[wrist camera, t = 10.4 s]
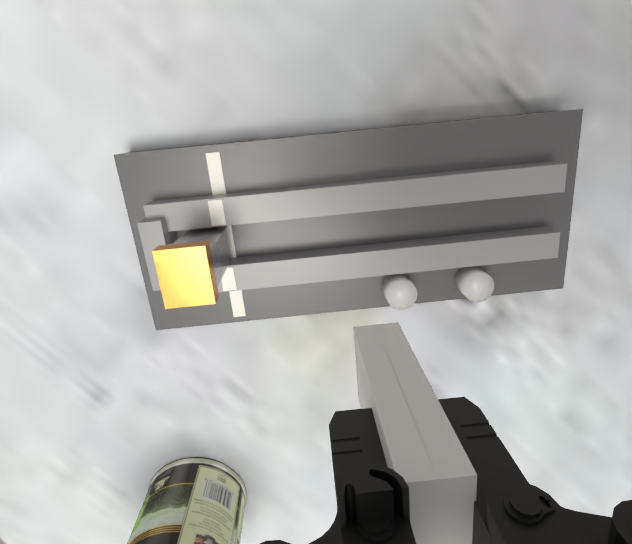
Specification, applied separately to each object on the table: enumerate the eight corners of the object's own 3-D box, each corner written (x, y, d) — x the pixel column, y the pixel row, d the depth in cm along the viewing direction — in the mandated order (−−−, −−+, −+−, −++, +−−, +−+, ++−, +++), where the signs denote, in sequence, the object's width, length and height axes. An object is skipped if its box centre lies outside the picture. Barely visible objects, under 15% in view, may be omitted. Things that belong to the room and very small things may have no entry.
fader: (227, 216, 32) (204, 245, 24) (234, 262, 33) (215, 303, 25) (187, 220, 32) (152, 251, 24) (196, 265, 33) (165, 308, 25)
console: (558, 110, 33) (612, 107, 28) (543, 276, 38) (586, 302, 32) (129, 152, 33) (94, 157, 27) (166, 314, 37) (143, 348, 32)
